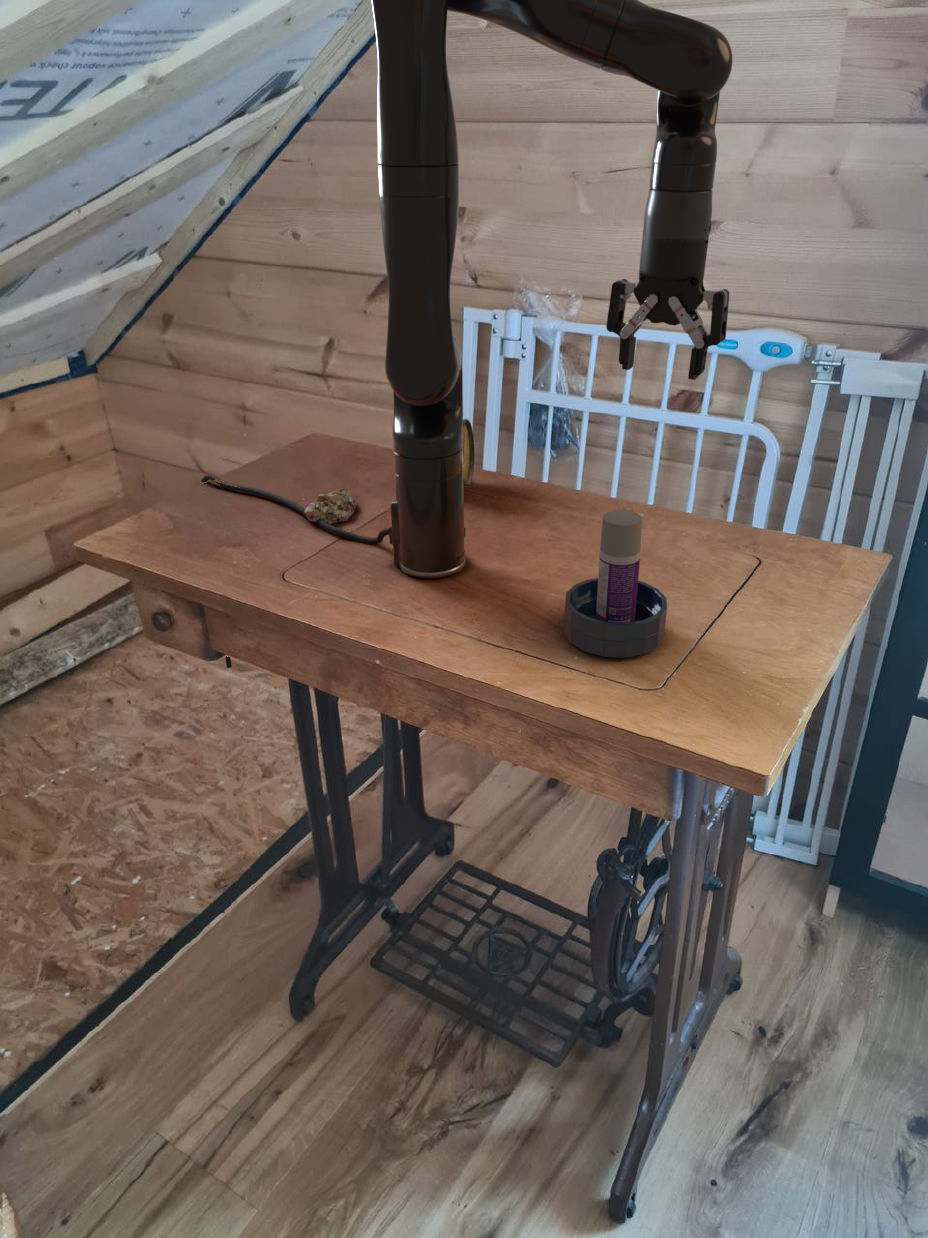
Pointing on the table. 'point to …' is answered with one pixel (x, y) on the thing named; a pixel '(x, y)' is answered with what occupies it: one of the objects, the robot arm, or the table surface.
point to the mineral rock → (331, 507)
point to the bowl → (614, 635)
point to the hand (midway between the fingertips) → (660, 373)
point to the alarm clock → (467, 452)
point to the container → (619, 566)
